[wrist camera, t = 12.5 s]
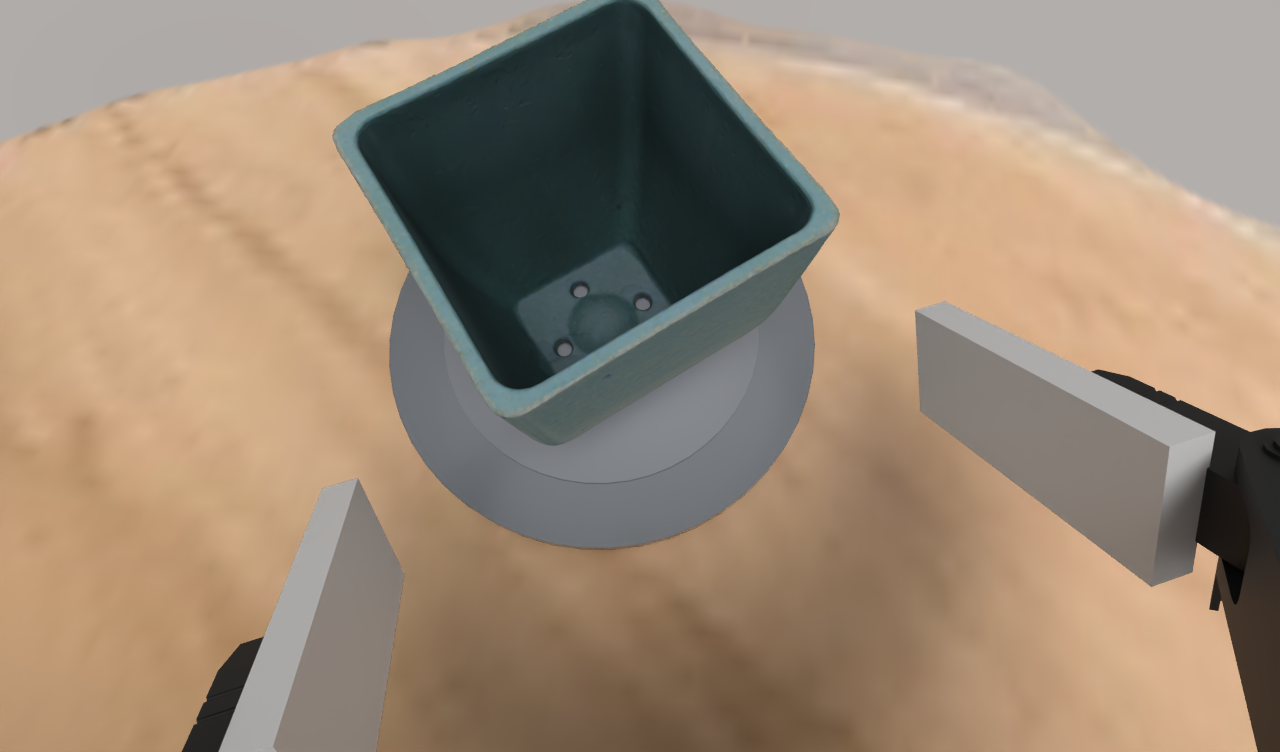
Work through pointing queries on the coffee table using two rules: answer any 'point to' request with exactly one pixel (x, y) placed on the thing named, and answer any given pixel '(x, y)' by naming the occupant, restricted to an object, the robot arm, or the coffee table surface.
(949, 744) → the coffee table surface
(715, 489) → the saucer
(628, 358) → the flower pot
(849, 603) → the coffee table surface
